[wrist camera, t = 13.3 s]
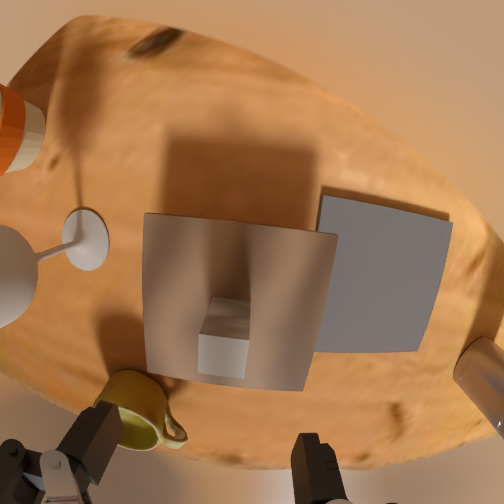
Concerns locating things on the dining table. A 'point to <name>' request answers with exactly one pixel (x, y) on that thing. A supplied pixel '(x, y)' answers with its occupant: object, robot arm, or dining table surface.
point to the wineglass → (26, 261)
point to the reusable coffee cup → (19, 131)
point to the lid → (233, 300)
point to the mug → (142, 411)
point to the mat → (380, 276)
